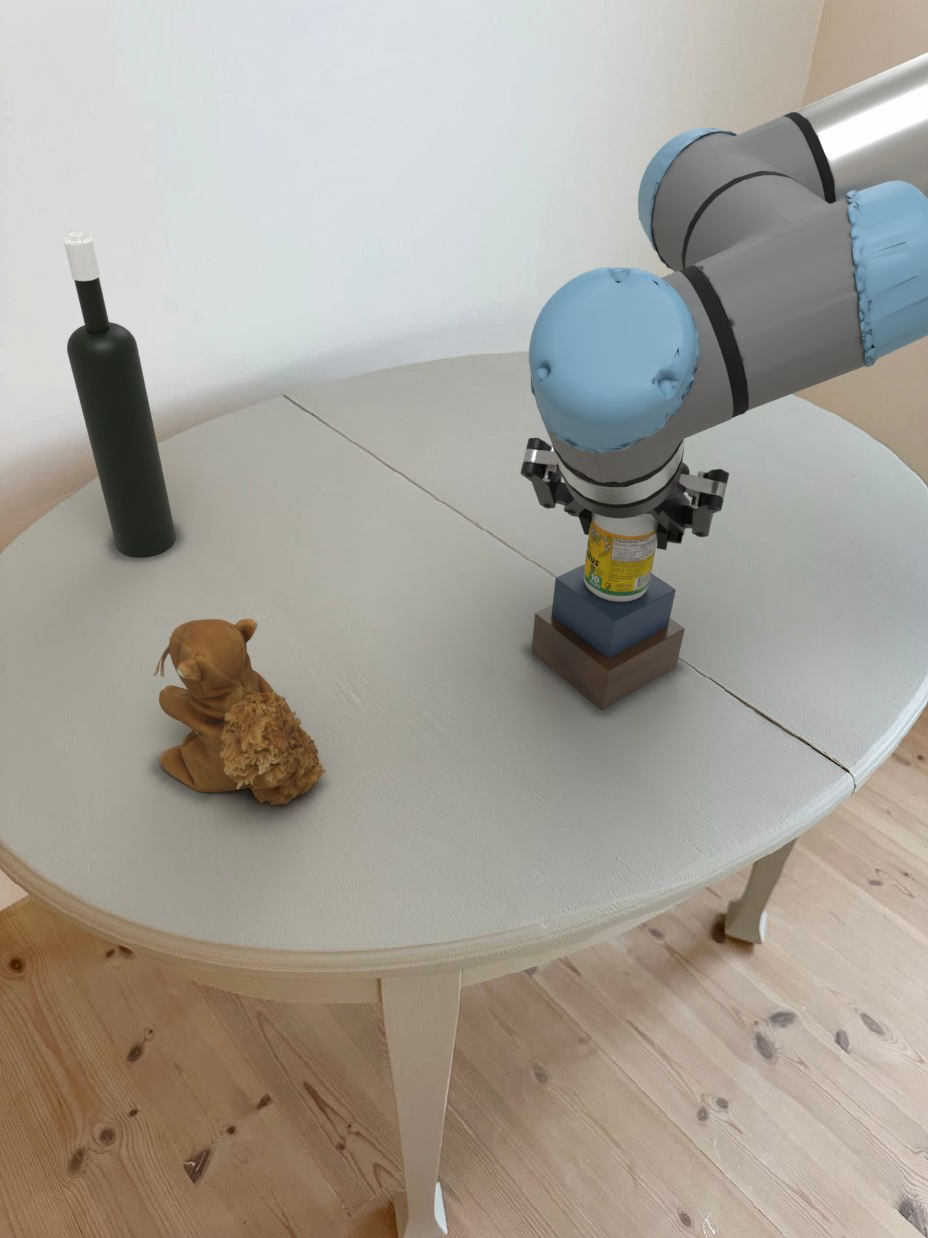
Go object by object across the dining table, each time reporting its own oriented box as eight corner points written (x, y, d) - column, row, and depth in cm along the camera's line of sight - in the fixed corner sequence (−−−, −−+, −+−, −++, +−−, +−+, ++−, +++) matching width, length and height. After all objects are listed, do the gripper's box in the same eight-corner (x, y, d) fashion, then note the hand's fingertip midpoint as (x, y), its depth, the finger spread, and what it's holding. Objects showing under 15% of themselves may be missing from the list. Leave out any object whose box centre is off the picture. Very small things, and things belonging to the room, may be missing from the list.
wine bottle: (131, 565, 93) (55, 251, 73) (106, 538, 96) (27, 231, 77) (186, 544, 95) (126, 237, 76) (160, 518, 99) (96, 218, 80)
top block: (668, 626, 80) (676, 589, 78) (608, 659, 77) (615, 621, 75) (610, 585, 85) (615, 548, 82) (551, 615, 81) (555, 577, 79)
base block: (676, 667, 83) (685, 628, 80) (601, 711, 79) (608, 671, 76) (604, 614, 89) (610, 576, 86) (530, 652, 84) (534, 613, 81)
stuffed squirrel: (251, 691, 80) (230, 564, 71) (364, 783, 72) (355, 654, 64) (145, 754, 74) (109, 624, 66) (256, 862, 67) (231, 731, 58)
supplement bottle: (652, 605, 76) (672, 503, 70) (585, 603, 76) (599, 501, 70) (643, 564, 80) (661, 465, 74) (579, 563, 80) (592, 463, 74)
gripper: (792, 408, 55) (751, 503, 77) (484, 359, 59) (530, 463, 81) (765, 534, 54) (731, 593, 77) (456, 476, 58) (510, 548, 81)
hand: (628, 526), depth 79 cm, fingers closed on supplement bottle, 5 cm apart
